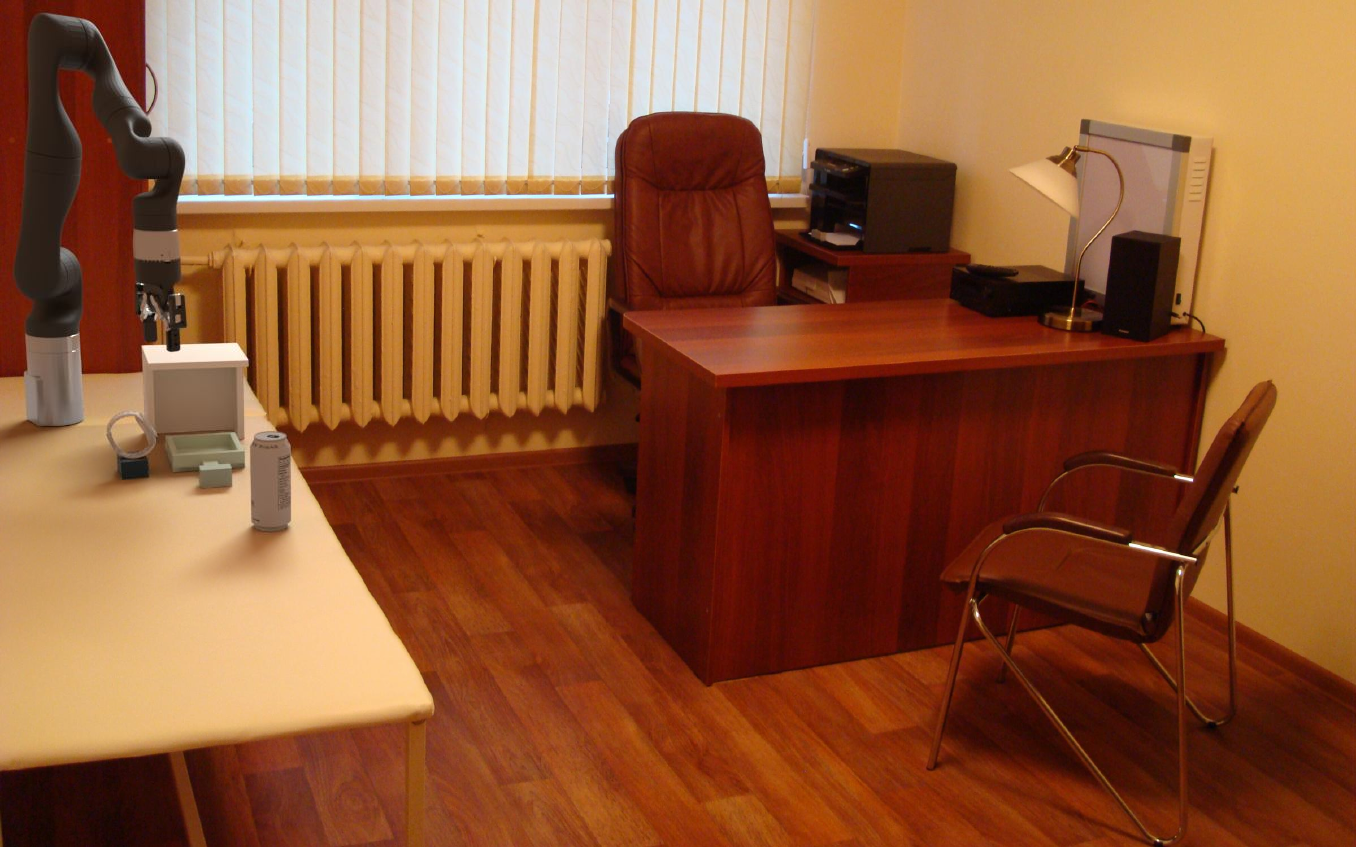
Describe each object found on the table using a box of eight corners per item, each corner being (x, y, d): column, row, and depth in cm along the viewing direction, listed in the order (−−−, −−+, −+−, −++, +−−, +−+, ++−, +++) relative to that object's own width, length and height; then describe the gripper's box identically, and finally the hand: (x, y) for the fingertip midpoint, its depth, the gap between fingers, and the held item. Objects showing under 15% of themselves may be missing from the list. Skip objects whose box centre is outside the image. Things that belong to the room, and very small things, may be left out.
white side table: (249, 448, 238) (248, 360, 233) (151, 454, 230) (148, 363, 226) (238, 427, 250) (237, 343, 245) (145, 432, 242) (141, 345, 237)
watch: (161, 476, 220) (158, 415, 217) (110, 480, 216) (107, 418, 213) (156, 466, 224) (153, 406, 221) (106, 470, 221) (103, 409, 218)
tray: (253, 484, 219) (253, 466, 218) (179, 489, 214) (178, 471, 213) (235, 447, 238) (234, 430, 237) (166, 451, 232) (165, 434, 231)
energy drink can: (260, 517, 205) (259, 428, 201) (297, 521, 205) (296, 432, 200) (245, 530, 199) (243, 439, 195) (282, 534, 199) (281, 443, 195)
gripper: (117, 250, 222) (122, 341, 226) (155, 262, 213) (160, 357, 217) (158, 248, 227) (163, 336, 232) (197, 259, 218) (202, 351, 222)
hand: (162, 346), depth 224 cm, fingers open, 8 cm apart
